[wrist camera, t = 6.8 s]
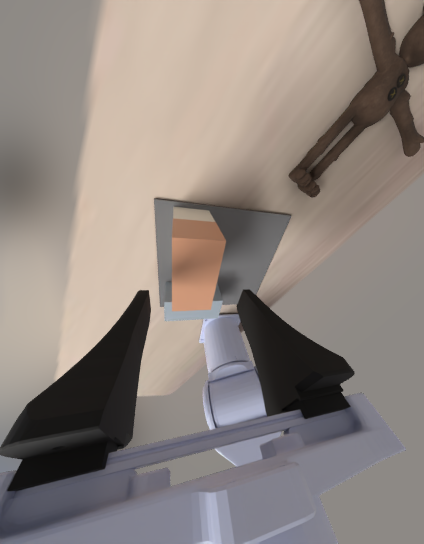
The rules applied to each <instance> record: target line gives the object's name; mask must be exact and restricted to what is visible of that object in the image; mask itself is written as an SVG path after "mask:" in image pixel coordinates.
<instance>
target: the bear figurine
mask: <svg viewBox="0 0 424 544" xmlns="http://www.w3.org/2000/svg"><path fill="white" fill-rule="evenodd" d="M359 1H360V4H361V7H362V10H363V14H364V18H365V22H366V27H367V31H368V35H369V39H370V43H371V48H372V52H373V56H374V60H375V64H376V67H377V72H376V73H375V75H374V76H373V77H372V79H371V80H370V81H368V82H367V83H366V84H365V86H364V88H363V89H362V90H361V91H360V92H359V93H358V94H357V95H356V96H355V98H354V99H353V100H352V102H351V103H350V106H349V107H348V108H347V109H346V111H345V112H344V113H343V114H342V115H341V116H340V117H339V119H338V120H337V121H336V122H335V123H334V124H333V125H332V127H331V128H330V129H329V130H328V131H327V132H326V134H325V135H323V136H322V137H321V138H320V139H319V140H318V143H317V144H316V145H315V146H314V147H313V148H312V149H311V150H310V151H309V152H308V153H307V155H306V156H305V158H304V159H303V160H302V161H301V162H300V164H299V165H298V166H297V167H296V168H294V169H293V170H292V171H291V173H290V174H289V177H290V178H291V179H292V180H293V181H294V182H296V183H297V184H298V187H299V189H300V190H301V191H303V192H304V193H306V194H307V195H308V196H310V197H315V196H317V195H318V194H319V192H320V189H319V186H318V185H317V184H316V183H315V182H314V181H315V180H316V179H318V178H319V177H320V176H321V174H322V173H323V172H324V171H325V169H326V168H327V167H328V166H329V165H330V164H331V163H332V162H333V161H336V160H337V158H338V157H339V155H340V154H341V153H342V152H343V151H344V150H345V149H346V148H347V147H348V146H349V145H350V144H351V143H352V142H353V141H354V139H355V138H356V137H357V136H358V135H359V134H360V133H361V132H362V131H363V130H364V129H365V128H367V127H369V126H371V125H373V124H375V123H376V122H378V121H380V120H381V119H382V118H383V117H384V116H385V115H386V114H387V113H388V112H389V110H390V114H391V115H392V117H393V118H394V120H395V122H396V125H397V127H398V129H399V132H400V134H401V138H402V143H403V149H404V154H405V155H406V156H408V157H411V156H413V155H415V154H416V153H417V152H418V151H419V149H420V143H424V137H422V136H421V135H420V134H418V133H417V131H416V129H415V126H414V122H413V119H414V118H413V116H412V114H411V112H410V108H409V99H410V94H409V93H408V92H407V91H405V88H406V86H407V84H408V80H409V69H408V67H414V66H418V65H421V64H423V63H424V15H423V16H422V17H421V18H420V19H419V20H418V21H417V22H416V23H415V25H414V26H413V27H412V28H411V30H410V31H409V32H408V33H407V35H406V36H405V38H404V39H403V41H402V44H401V47H400V52H399V56H398V55H397V54H396V53H395V45H396V41H395V38H394V37H393V35H394V32H393V33H392V32H391V29H390V26H389V23H388V18H387V14H386V9H385V3H384V0H359ZM423 10H424V7H423ZM350 121H352V122H353V124H354V126H353V127H352V128H351V129H350V130H349V131H348V132H347V133H346V134H345V135H344V137H343V138H342V139H341V140H340V141H339V142H338V143H337V144H336V145H335V146H334V147H333V148H332V149H331V150H330V152H329V153H328V154H327V155H326V156H325V157H324V158H323V159H322V160H321V161H320V162H319V163H318V164H317V165H316V166H315V168H314V169H313V170H312V171H311V172H310V173H307V172H306V170H307V168H308V167H309V166H310V165H311V164H312V163H313V162H314V161H315V160H316V158H317V157H318V156H319V155H321V154H322V153H323V152H324V151H325V149H326V148H327V146H328V145H329V144H330V143H331V142H332V141H333V140H334V139H335V137H336V136H337V135H338V134H339V133H340V132H341V131H342V130H343V129H344V128H345V126H346V125H347V124H348V123H349V122H350Z"/></svg>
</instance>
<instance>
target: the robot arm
mask: <svg viewBox="0 0 424 544" xmlns="http://www.w3.org/2000/svg"><path fill="white" fill-rule="evenodd" d="M237 310H238V314H225V315H219V316H218V318H214V319H204V320H203V325H202V329H201V334H200V339H199V342H200V343H204V348H205V354H206V361H207V368H208V371H209V374H208V377H209V380H207V381H206V382H205V385H204V386H203V404H204V411H205V416H206V420H207V423H208V426H209V429H210V430H208V431H203V432H199V433H194V434H190V435H185V436H181V437H177V438H172V439H168V440H163V441H159V442H155V443H150V444H146V445H142V446H137V447H133V448H129V449H125V450H120V451H117V450H118V449H122V448H124V447H126V446H127V445H128V443H129V442H130V441H131V439H132V436H133V426H134V416H135V406H136V398H137V389H138V381H139V373H140V365H141V359H142V353H143V349H144V345H145V340H146V336H147V331H148V327H149V322H150V313H151V306H150V297H149V290H139V291H138V292H137V294H136V296H135V297H134V299H133V301H132V302H131V304H130V305H129V307H128V308H127V309H126V311H125V312H124V313H123V315H122V316H121V317H120V319H119V320H118V321H117V322H116V324H115V325H114V326H113V327H112V328H111V330H110V331H109V332H108V333H107V334H106V335H105V336H104V337H103V338H102V339H101V340H100V342H99V343H98V344H97V345H96V346H95V347H94V348H93V349H92V350H91V351H89V352H88V353H87V354H86V355H85V356H84V357H83V358H82V359H81V360H80V361H79V362H78V363H77V364H75V365H74V366H73V367H72V368H71V369H70V370H69V371H67V372H66V373H65V374H64V375H63V376H62V377H60V378H59V379H58V380H57V381H56V382H54V383H53V384H52V385H51V386H49V387H48V388H47V389H46V390H44V391H43V392H42V393H41V394H40V395H38V396H37V397H36V398H34V399H33V400H32V401H30V402H29V403H28V404H27V406H26V407H25V409H24V410H23V411H22V413H21V414H20V416H19V417H18V419H17V420H16V422H15V423H14V425H13V427H12V428H11V430H10V432H9V434H8V435H7V437H6V439H5V440H4V442H3V444H2V445H1V447H0V455H2V456H5V457H11V458H17V459H23V460H22V462H21V464H20V466H19V468H18V470H17V471H8V472H3V473H0V544H339V543H338V541H337V539H336V536H335V534H334V531H333V529H332V526H331V524H330V521H329V519H328V517H327V514H326V512H325V509H324V507H323V505H322V502H321V500H320V497H319V495H321V494H323V493H325V492H326V491H328V490H330V489H332V488H334V487H335V486H337V485H339V484H341V483H342V482H344V481H346V480H348V479H350V478H352V477H353V476H355V475H357V474H359V473H360V472H362V471H364V470H366V469H368V468H369V467H371V466H373V465H375V464H377V463H378V462H380V461H382V460H384V459H386V458H389V457H391V456H393V455H396V454H398V453H400V452H403V451H406V448H405V447H404V445H403V444H402V443H401V441H400V440H399V439H398V438H397V436H396V435H395V434H394V432H393V431H392V430H391V429H390V427H389V426H388V425H387V423H386V422H385V421H384V419H383V418H382V417H381V416H380V414H379V413H378V412H377V410H376V409H375V408H374V406H373V405H372V404H371V403H370V401H369V400H368V399H367V397H366V396H365V395H364V393H357V394H352V395H349V396H345V397H344V396H343V394H342V393H341V392H342V391H343V389H342V388H341V386H340V384H341V383H343V382H344V381H346V380H347V379H349V378H351V377H352V376H353V375H354V371H353V369H352V368H351V367H350V366H349V364H348V363H347V362H346V361H345V359H344V358H343V357H341V356H339V355H337V354H335V353H333V352H331V351H329V350H327V349H326V348H324V347H322V346H320V345H319V344H317V343H315V342H313V341H312V340H310V339H309V338H307V337H306V336H304V335H303V334H301V333H299V332H298V331H297V330H295V329H294V328H292V327H291V326H290V325H289V324H287V323H286V322H285V321H283V320H282V319H281V318H280V317H279V316H277V315H276V314H275V313H274V312H273V311H272V310H271V309H270V308H269V307H267V306H266V305H265V304H264V303H263V302H262V301H261V300H260V299H259V298H258V297H257V296H256V295H255V294H254V293H253V292H252V291H251V290H250V289H243V291H242V293H241V296H240V299H239V301H238V304H237ZM240 321H241V323H242V326H243V328H244V331H245V334H246V336H247V339H248V341H249V344H250V347H251V349H252V353H253V357H254V360H255V364H256V366H255V367H254V366H253V363H252V361H250V359H249V356H248V353H247V350H246V347H245V345H244V342H243V339H242V336H241V333H240V330H239V327H238V326H239V323H240ZM282 431H284V436H281V437H280V435H281V432H282ZM212 449H215V450H216V451H217V452H218V453H219V454H221V455H222V456H223V457H225V458H226V459H227V460H229V461H230V462H232V463H233V464H234V465H235V466H236V467H234V468H230V469H227V470H224V471H220V472H217V473H213V474H210V475H207V476H203V477H200V478H197V479H194V480H190V481H187V482H183V483H180V484H177V485H173V486H170V471H169V469H168V468H163V469H159V470H154V471H150V472H146V473H142V474H138V475H137V472H136V471H135V469H138V468H142V467H146V466H150V465H153V464H158V463H161V462H165V461H169V460H173V459H177V458H181V457H184V456H189V455H192V454H196V453H200V452H204V451H208V450H212Z"/></svg>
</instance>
